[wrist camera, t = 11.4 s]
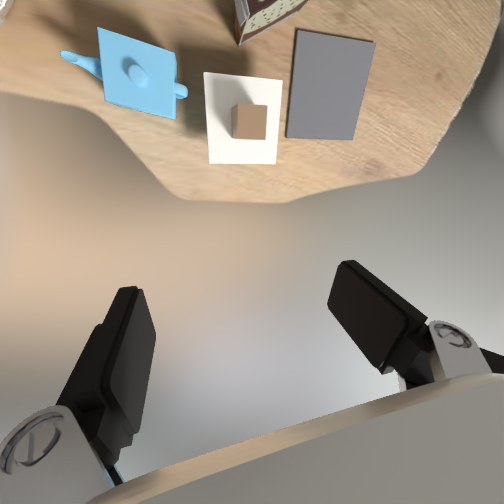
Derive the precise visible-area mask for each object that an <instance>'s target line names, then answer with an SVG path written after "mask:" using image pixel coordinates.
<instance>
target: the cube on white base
mask: <svg viewBox="0 0 504 504" xmlns="http://www.w3.org/2000/svg"><path fill="white" fill-rule="evenodd" d="M203 76H204V91H205V107H206V122H207V138H208V153H209V163H212V164H275V163H276V152H277V140H278V128H279V117H280V105H281V93H282V82H283V80H274V79H264V78H255V77H246V76H236V75H227V74H218V73H209V72H204V73H203Z"/></svg>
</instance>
